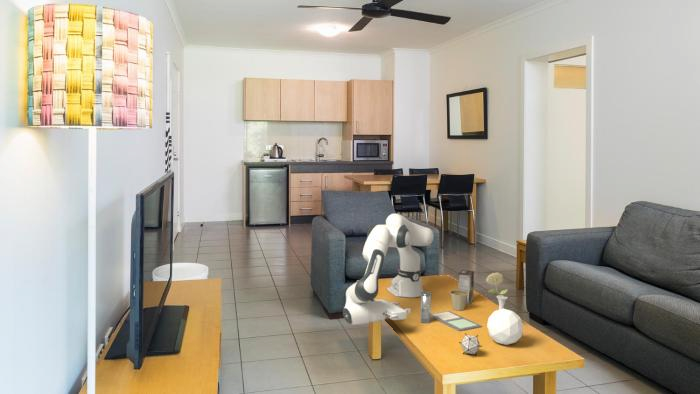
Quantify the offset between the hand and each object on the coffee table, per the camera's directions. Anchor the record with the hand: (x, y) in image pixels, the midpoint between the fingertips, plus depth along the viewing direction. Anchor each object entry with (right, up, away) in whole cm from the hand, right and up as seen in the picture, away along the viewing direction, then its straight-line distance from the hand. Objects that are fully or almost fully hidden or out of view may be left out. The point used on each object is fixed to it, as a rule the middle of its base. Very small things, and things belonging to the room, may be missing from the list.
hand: (404, 307), depth 235 cm
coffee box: (+37, -6, +40) cm, 55 cm away
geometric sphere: (+40, -11, -19) cm, 46 cm away
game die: (+23, -12, -31) cm, 40 cm away
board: (+25, -8, +8) cm, 27 cm away
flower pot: (+31, -7, +27) cm, 41 cm away
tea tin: (+11, -8, +6) cm, 15 cm away
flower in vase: (+44, -9, +2) cm, 45 cm away
